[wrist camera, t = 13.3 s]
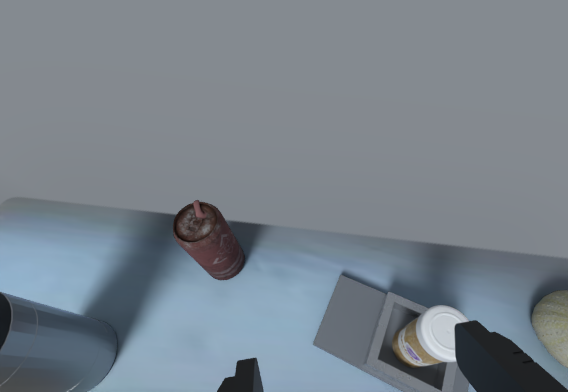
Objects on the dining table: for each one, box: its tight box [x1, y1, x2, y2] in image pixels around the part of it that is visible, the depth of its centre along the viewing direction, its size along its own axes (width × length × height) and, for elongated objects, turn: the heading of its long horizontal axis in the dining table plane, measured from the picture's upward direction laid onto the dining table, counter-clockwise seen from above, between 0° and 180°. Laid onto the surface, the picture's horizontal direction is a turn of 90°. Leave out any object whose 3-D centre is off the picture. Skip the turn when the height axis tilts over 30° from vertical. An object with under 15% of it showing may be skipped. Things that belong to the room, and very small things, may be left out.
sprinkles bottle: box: [392, 305, 469, 368], centre depth 32 cm, size 5×5×13 cm
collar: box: [363, 292, 457, 392], centre depth 36 cm, size 9×9×3 cm
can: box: [173, 200, 245, 280], centre depth 41 cm, size 6×6×14 cm
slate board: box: [313, 275, 469, 392], centre depth 39 cm, size 10×18×1 cm, turn 64°
